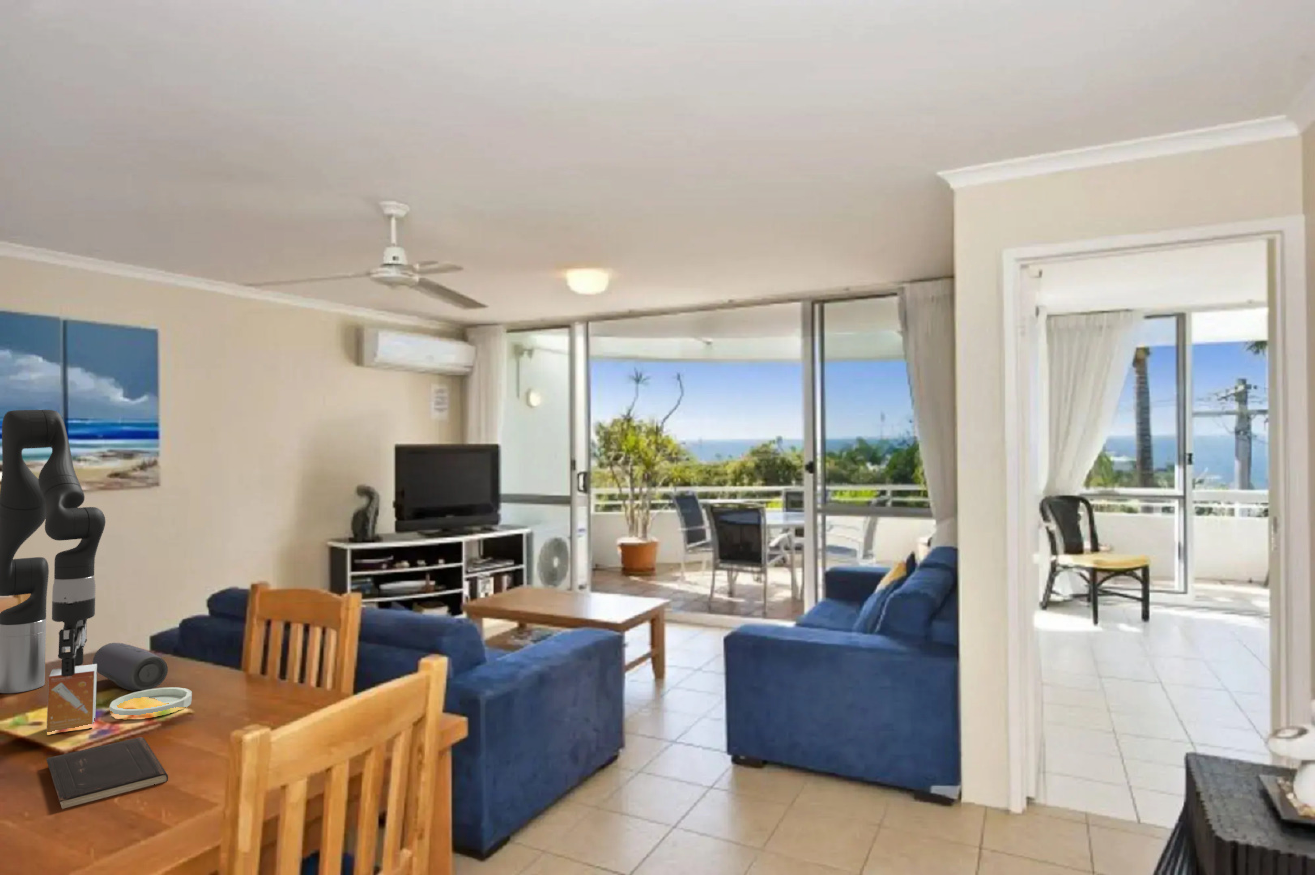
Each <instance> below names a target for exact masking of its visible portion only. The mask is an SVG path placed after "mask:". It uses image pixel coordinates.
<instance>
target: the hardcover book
mask: <svg viewBox="0 0 1315 875" xmlns="http://www.w3.org/2000/svg"><path fill="white" fill-rule="evenodd" d="M46 763H47V767H48V770H49V773H50V776H51V780H52V783H53V786H54V789H55V792H56V796H57V798H58V802H59V804H60V806H61V809H62V810H64V809H66V808H71V807H75V806H78V805H83V804H86V803H90V802H94V801H97V800H100V799H101V800H102V799H105V798H108V797H112V796H116V795H117V796H118V795H121V794H124V793H128V792H132V791H135V790H139V789H144V788H147V787H151V786H155V785H158V784H159V785H160V784H161V783H167V782H166V781H168V782H169V774H168V773H167V771H166V770H165V769H164V767H163V766H162V763H161V762H160V761H159V759H158V758H157V756H156V755H155V753H154V751H153V750H152V748H151V747H150V745H149V744H148V742H147V741H146V739H145V738H144V737H143V736H140V737H134V738H130V739H126V740H122V741H117V742H113V743H108V744H103V745H99V746H94V747H91V748H85V749H81V750H77V751H72V752H67V753H63V754H60V755H54V756H51V757H47V758H46ZM154 784H155V785H154Z"/></svg>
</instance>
